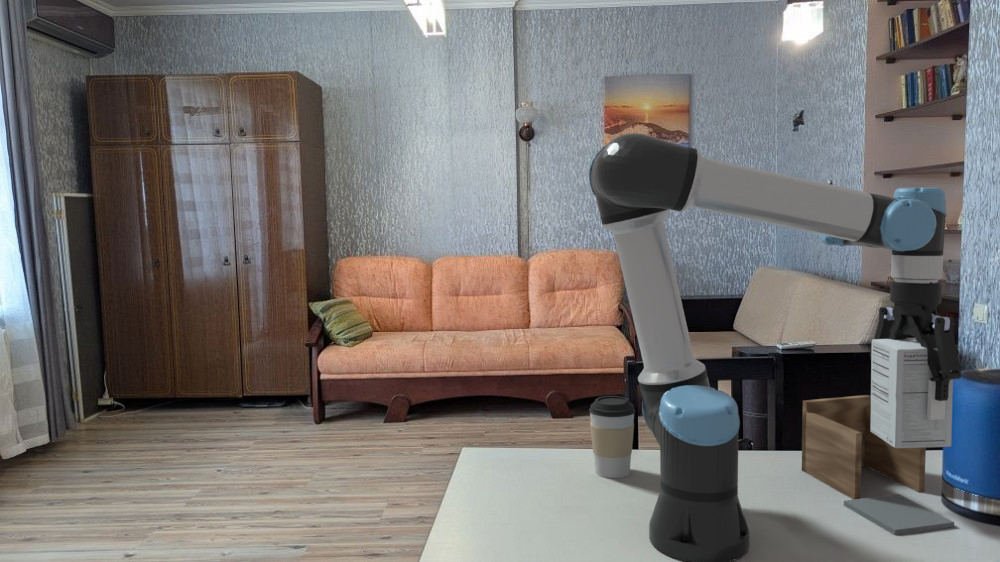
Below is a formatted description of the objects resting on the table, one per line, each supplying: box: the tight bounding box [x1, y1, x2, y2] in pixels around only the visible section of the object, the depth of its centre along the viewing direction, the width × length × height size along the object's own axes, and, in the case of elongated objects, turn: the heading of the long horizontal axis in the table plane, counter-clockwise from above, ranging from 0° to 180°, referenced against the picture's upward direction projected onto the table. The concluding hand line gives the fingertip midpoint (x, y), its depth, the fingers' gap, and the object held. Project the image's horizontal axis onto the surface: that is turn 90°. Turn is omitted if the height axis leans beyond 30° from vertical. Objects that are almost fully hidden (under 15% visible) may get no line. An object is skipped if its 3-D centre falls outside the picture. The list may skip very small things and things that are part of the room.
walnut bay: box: [801, 394, 927, 500], centre depth 137 cm, size 14×15×14 cm
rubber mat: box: [843, 493, 955, 536], centre depth 122 cm, size 11×12×1 cm
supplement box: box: [870, 337, 954, 448], centre depth 124 cm, size 10×9×17 cm
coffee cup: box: [588, 395, 636, 479], centre depth 144 cm, size 9×9×15 cm
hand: (910, 410), depth 124 cm, fingers closed on supplement box, 10 cm apart
